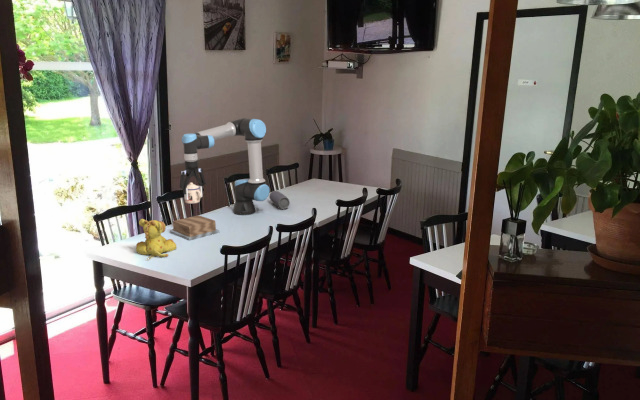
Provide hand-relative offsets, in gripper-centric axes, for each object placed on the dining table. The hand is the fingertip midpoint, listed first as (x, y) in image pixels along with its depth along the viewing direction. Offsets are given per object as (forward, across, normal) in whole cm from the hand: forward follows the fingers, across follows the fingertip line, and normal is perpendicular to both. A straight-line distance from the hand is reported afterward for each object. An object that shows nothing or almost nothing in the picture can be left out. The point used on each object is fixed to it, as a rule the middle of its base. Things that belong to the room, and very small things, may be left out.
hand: (193, 198), depth 308 cm
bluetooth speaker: (+22, +77, +10) cm, 80 cm away
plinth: (+22, 0, 0) cm, 22 cm away
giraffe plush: (+22, -34, -14) cm, 43 cm away
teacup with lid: (+3, 0, 0) cm, 3 cm away
